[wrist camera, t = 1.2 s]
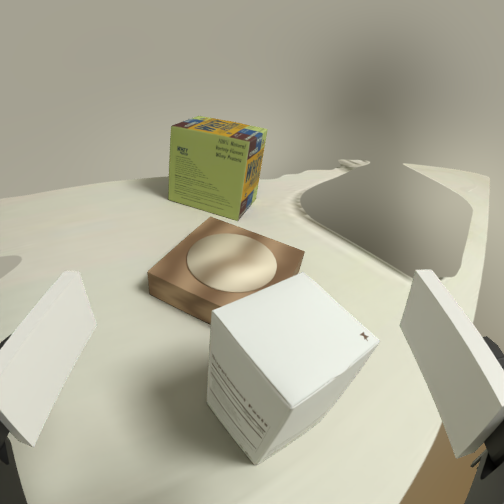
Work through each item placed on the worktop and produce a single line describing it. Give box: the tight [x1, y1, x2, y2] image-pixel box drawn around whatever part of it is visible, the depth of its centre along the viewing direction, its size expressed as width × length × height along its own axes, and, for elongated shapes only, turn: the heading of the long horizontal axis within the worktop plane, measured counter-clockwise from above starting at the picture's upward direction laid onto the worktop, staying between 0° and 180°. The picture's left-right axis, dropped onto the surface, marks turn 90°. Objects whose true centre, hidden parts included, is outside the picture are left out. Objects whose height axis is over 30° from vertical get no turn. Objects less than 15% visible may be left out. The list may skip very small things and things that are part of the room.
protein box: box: [168, 116, 267, 221], centre depth 59 cm, size 10×15×16 cm
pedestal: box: [147, 217, 305, 324], centre depth 44 cm, size 16×16×4 cm
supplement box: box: [207, 272, 380, 465], centre depth 25 cm, size 9×9×15 cm
